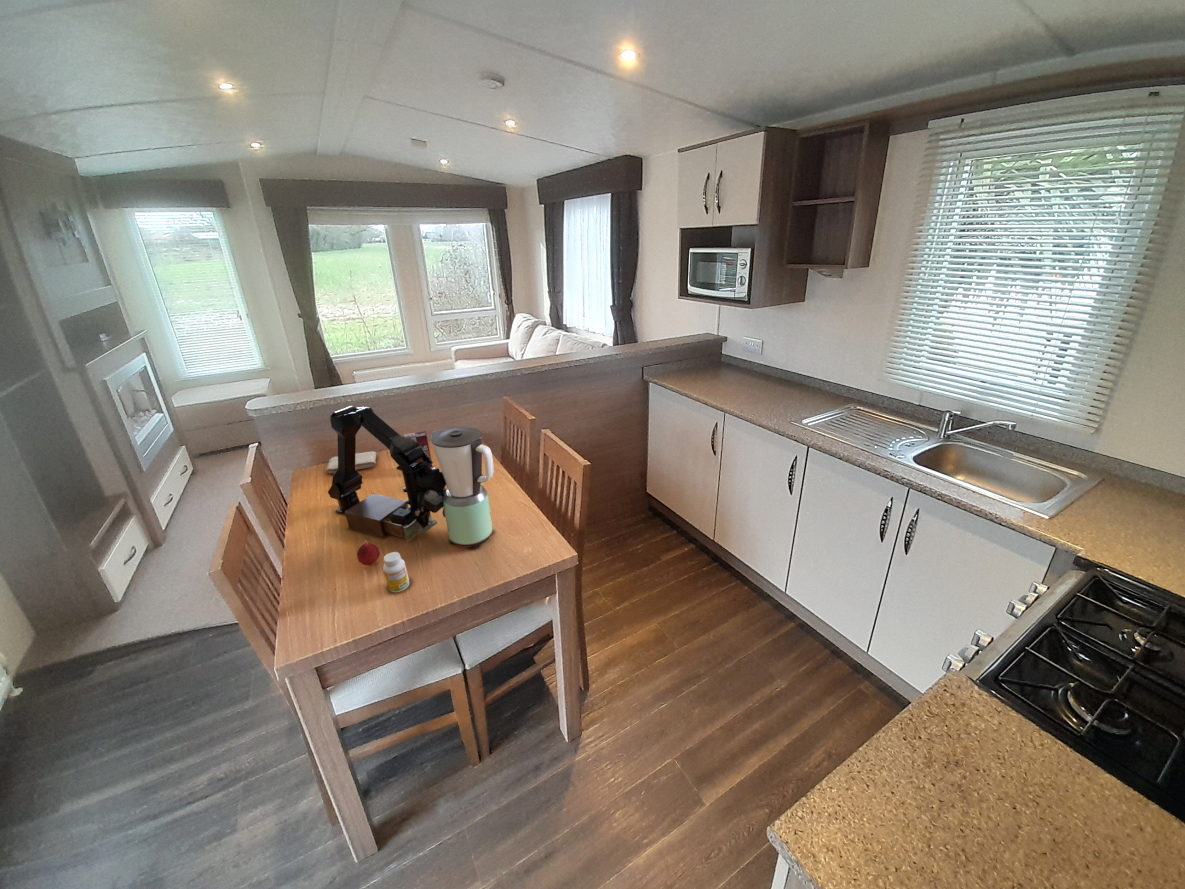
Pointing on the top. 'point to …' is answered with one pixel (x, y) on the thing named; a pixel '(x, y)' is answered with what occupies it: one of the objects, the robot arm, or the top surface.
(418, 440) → the supplement box
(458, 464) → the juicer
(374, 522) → the cabinet
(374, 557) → the onion
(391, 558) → the supplement bottle
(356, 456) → the washcloth
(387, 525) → the drawer
